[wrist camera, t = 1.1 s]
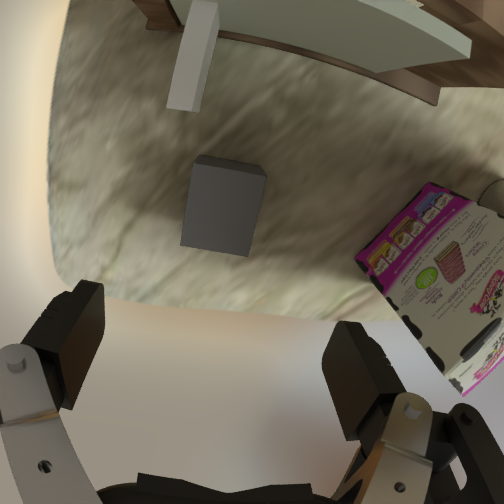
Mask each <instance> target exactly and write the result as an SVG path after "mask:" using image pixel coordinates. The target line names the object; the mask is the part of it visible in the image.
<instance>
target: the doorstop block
mask: <svg viewBox="0 0 504 504" xmlns="http://www.w3.org/2000/svg"><path fill="white" fill-rule="evenodd" d="M266 178H267V176H266V175H265V173H264V172H263V170H262V169H261V167H260V166H258V165H253V164H248V163H243V162H237V161H232V160H227V159H222V158H216V157H210V156H205V155H199V156H198V157H197V159H196V160H195V162H194V163H193V168H192V174H191V179H190V185H189V191H188V197H187V203H186V209H185V216H184V222H183V229H182V236H181V243H180V245H181V246H187V247H192V248H198V249H204V250H210V251H216V252H222V253H228V254H234V255H240V256H246V257H248V255H249V251H250V247H251V242H252V238H253V234H254V229H255V225H256V221H257V217H258V212H259V208H260V204H261V200H262V195H263V191H264V187H265V183H266Z"/></svg>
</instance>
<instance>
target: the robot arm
mask: <svg viewBox="0 0 504 504" xmlns="http://www.w3.org/2000/svg"><path fill="white" fill-rule="evenodd" d="M479 204H480V205H483V206H485V207H487V208H489V209H491V210H493V211H495V212H497V213H499V214H500V215H502V216H504V180H499V181H497V182H495V183H493V184H492V185H491V186H490V187H488V189H487V190H486V191H485V192H484V194H483V195H482V197H481V199H480V201H479ZM104 308H105V306H104V286H103V284H102V283H97V282H92V281H88V280H83V279H82V280H80V281H79V283H78V284H77V285H76V287H75V288H74V290H73V291H72V292H68V291H64V292H63V293H61V294H59V295H58V296H56V297H54V298H53V299H52V301H51V302H50V303H49V305H48V306H47V309H45V310H44V311H43V313H42V314H41V317H39V318H38V319H37V321H36V322H35V324H34V325H33V326H32V328H31V329H30V330H29V332H28V333H27V335H26V336H25V337H24V339H23V340H22V342H21V343H20V344H11V345H8V346H5V347H3V348H1V349H0V431H1V435H2V439H3V443H4V447H5V450H6V454H7V457H8V460H9V464H10V467H11V470H12V473H13V476H14V479H15V482H16V485H17V487H18V490H19V493H20V496H21V498H22V501H23V503H24V504H504V455H503V453H502V451H501V449H500V447H499V446H498V444H497V442H496V440H495V438H494V437H493V435H492V434H491V431H490V430H489V428H488V426H487V425H486V423H485V421H484V419H483V418H482V416H481V415H480V413H479V412H478V411H477V410H476V409H475V408H474V407H472V406H470V405H468V404H465V403H459V404H456V405H455V406H454V407H453V408H452V410H451V411H450V412H449V413H448V414H447V413H441V412H435V411H432V408H431V406H430V405H429V403H428V402H427V401H426V400H425V399H424V398H422V397H420V396H419V395H417V394H414V393H409V392H407V391H406V390H405V388H404V386H403V384H402V382H401V381H400V379H399V377H398V375H397V373H396V372H395V370H394V368H393V366H391V363H390V361H389V360H388V358H386V354H385V353H384V351H383V349H382V348H381V346H380V345H379V344H378V343H377V342H376V341H375V340H374V339H372V338H371V337H369V336H368V335H367V333H366V331H365V330H364V328H363V326H362V324H361V323H359V322H350V321H339V322H338V323H337V324H336V326H335V328H334V331H333V333H332V335H331V337H330V340H329V342H328V344H327V347H326V349H325V351H324V354H323V357H322V371H323V374H324V376H325V379H326V382H327V385H328V388H329V391H330V394H331V397H332V400H333V403H334V406H335V409H336V412H337V415H338V418H339V421H340V424H341V427H342V430H343V433H344V435H345V439H346V441H354V440H360V443H361V445H360V446H359V448H358V449H357V451H356V453H355V455H354V457H353V459H352V461H351V463H350V465H349V467H348V469H347V471H346V473H345V475H344V477H343V479H342V481H341V482H340V484H339V486H338V488H337V489H336V491H335V492H334V494H333V495H332V496H331V498H327V497H324V496H320V495H317V494H313V493H312V488H311V484H310V483H308V484H288V485H269V486H264V487H259V488H254V489H250V490H245V491H239V492H234V493H224V492H220V491H216V490H213V489H210V488H206V487H203V486H200V485H197V484H194V483H191V482H188V481H185V480H182V479H173V478H167V477H160V476H154V475H149V474H143V473H138V477H137V483H124V484H117V485H113V486H109V487H106V488H103V489H100V490H98V491H95V489H94V487H93V486H92V484H91V482H90V480H89V479H88V476H87V474H86V473H85V471H84V469H83V467H82V465H81V463H80V461H79V459H78V457H77V454H76V452H75V450H74V448H73V446H72V444H71V441H70V439H69V437H68V435H67V432H66V430H65V428H64V425H63V423H62V420H61V418H60V415H59V410H60V408H61V407H62V408H65V409H68V410H72V409H73V407H74V404H75V401H76V399H77V396H78V394H79V392H80V389H81V387H82V384H83V382H84V380H85V377H86V375H87V372H88V370H89V368H90V365H91V363H92V361H93V359H94V356H95V354H96V351H97V349H98V347H99V345H100V343H101V340H102V338H103V335H104V329H105V309H104ZM457 456H458V457H459V459H460V461H461V463H462V466H463V468H464V470H465V472H466V475H467V482H466V485H465V487H464V488H463V489H462V490H461V491H460V489H459V486H458V484H457V481H456V479H455V477H454V474H453V472H452V470H451V467H450V465H449V464H450V463H451V462H452V461H453V460H454V459H455V458H456V457H457Z"/></svg>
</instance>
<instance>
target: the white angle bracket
mask: <svg viewBox="0 0 504 504" xmlns="http://www.w3.org/2000/svg"><path fill="white" fill-rule="evenodd" d="M170 2H171V4H172V6H173V8H174V10H175V12H176V14H177V16H178V18H179V20H180V22H181V24H182V25H185V29H184V32H183V36H182V40H181V44H180V48H179V52H178V56H177V60H176V64H175V68H174V73H173V77H172V82H171V86H170V91H169V96H168V100H167V105H166V108H170V109H178V110H185V111H191V112H198V113H199V112H200V107H201V102H202V98H203V93H204V89H205V84H206V80H207V76H208V71H209V67H210V63H211V59H212V55H213V51H214V47H215V43H216V39H217V35H218V31H219V30H224V31H230V32H235V33H241V34H246V35H251V36H256V37H260V38H265V39H269V40H273V41H278V42H282V43H286V44H290V45H293V46H297V47H301V48H304V49H308V50H311V51H314V52H318V53H321V54H324V55H327V56H330V57H333V58H336V59H339V60H342V61H345V62H348V63H351V64H354V65H356V66H359V67H362V68H364V69H367V70H370V71H372V72H375V73H380V72H384V71H389V70H395V69H400V68H405V67H411V66H417V65H423V64H430V63H437V62H444V61H452V60H461V59H470V52H471V43H472V40H471V39H469V38H468V37H466V36H465V35H463V34H462V33H460V32H459V31H457V30H456V29H454V28H452V27H451V26H449V25H448V24H446V23H444V22H443V21H441V20H439V19H438V18H436V17H434V16H432V15H431V14H429V13H427V12H425V11H424V10H422V9H420V8H418V7H416V6H414V5H412V4H410V3H408V2H406V1H404V0H170Z"/></svg>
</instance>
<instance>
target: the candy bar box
mask: <svg viewBox="0 0 504 504" xmlns="http://www.w3.org/2000/svg"><path fill="white" fill-rule="evenodd" d="M354 260H355V262H356V263H357V264H358V266H359V267H360V268H361V269H362V271H363V272H364V273H365V274H366V275H367V277H368V278H369V279H370V280H371V282H372V283H373V284H374V285H375V287H376V288H377V289H378V290H379V291H380V293H381V294H382V295H383V296H384V298H385V299H386V300H387V301H388V303H389V304H390V305H391V306H392V308H393V309H394V310H395V311H396V313H397V314H398V315H399V317H400V318H401V319H402V321H403V322H404V323H405V325H406V326H407V327H408V328H409V330H410V331H411V333H412V334H413V335H414V337H415V338H416V339H417V340H418V342H419V343H420V344H421V345H422V347H423V348H424V349H425V351H426V352H427V354H428V355H429V357H430V358H431V359H432V361H433V362H434V364H435V365H436V367H437V368H438V369H439V370H440V371H441V373H442V374H443V375H444V376H445V377H446V378H447V379H448V380H449V382H450V383H451V384H452V385H453V386H454V387H455V388H456V389H457V390H458V392H459V393H460V394H461V395H462V396H463V397H464V396H466V395H467V394H468V393H469V392H470V391H471V390H472V389H473V388H474V387H475V386H476V385H477V384H479V383H480V382H481V381H482V380H483V379H484V378H485V377H486V376H487V375H488V374H489V373H490V372H491V371H492V370H493V369H494V368H495V367H496V366H497V365H498V364H499V363H500V362H501V361H502V360H503V359H504V216H502V215H500V214H499V213H497V212H495V211H493V210H491V209H489V208H487V207H485V206H483V205H480V204H479V203H476V202H474V201H472V200H470V199H468V198H466V197H464V196H461V195H459V194H457V193H455V192H453V191H451V190H448V189H446V188H444V187H442V186H439V185H437V184H435V183H432V182H428V183H427V184H426V185H425V186H424V187H423V188H422V190H421V191H420V192H419V193H418V194H417V195H416V196H415V197H414V198H413V199H412V200H411V201H410V202H409V204H408V205H407V206H406V207H405V208H404V209H403V210H402V211H401V212H400V213H399V214H398V215H397V216H396V217H395V218H394V219H393V220H392V221H391V222H390V224H389V225H388V226H386V228H385V229H384V230H383V231H382V232H381V233H380V234H379V235H378V236H377V237H375V238H374V239H373V240H372V241H371V242H370V243H369V244H368V245H367V246H366V247H365V248H364V249H363V250H362V251H361V252H360V253H359V254H358V255H357V256H356V257H355V258H354Z"/></svg>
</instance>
